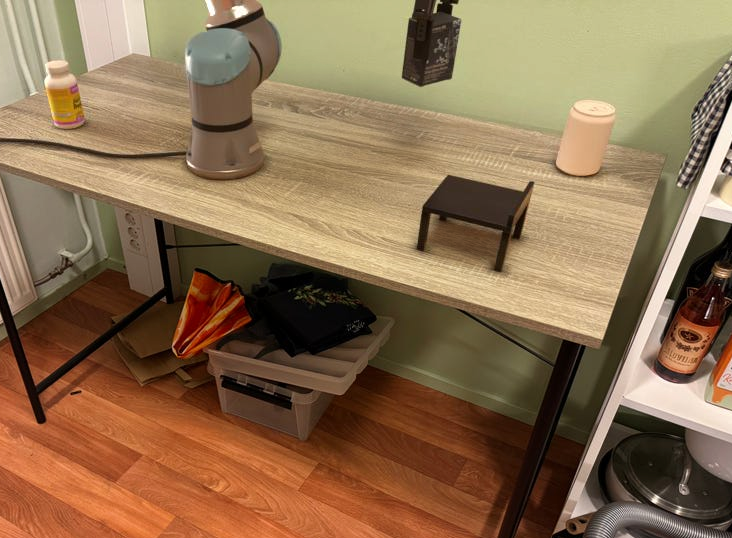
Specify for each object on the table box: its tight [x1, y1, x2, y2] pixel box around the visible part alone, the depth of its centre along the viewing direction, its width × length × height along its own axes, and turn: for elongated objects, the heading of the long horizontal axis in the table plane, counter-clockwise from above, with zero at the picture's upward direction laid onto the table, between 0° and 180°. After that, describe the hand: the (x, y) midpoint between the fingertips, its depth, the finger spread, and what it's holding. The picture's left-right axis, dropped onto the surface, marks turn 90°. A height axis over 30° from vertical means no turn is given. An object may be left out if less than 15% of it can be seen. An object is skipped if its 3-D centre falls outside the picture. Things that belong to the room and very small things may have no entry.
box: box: [401, 12, 463, 88], centre depth 122 cm, size 8×6×11 cm
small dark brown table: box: [416, 174, 535, 273], centre depth 109 cm, size 14×12×10 cm
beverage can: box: [555, 99, 617, 177], centre depth 128 cm, size 8×8×12 cm
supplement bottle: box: [44, 59, 86, 130], centre depth 146 cm, size 7×7×13 cm
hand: (430, 50), depth 123 cm, fingers closed on box, 9 cm apart
